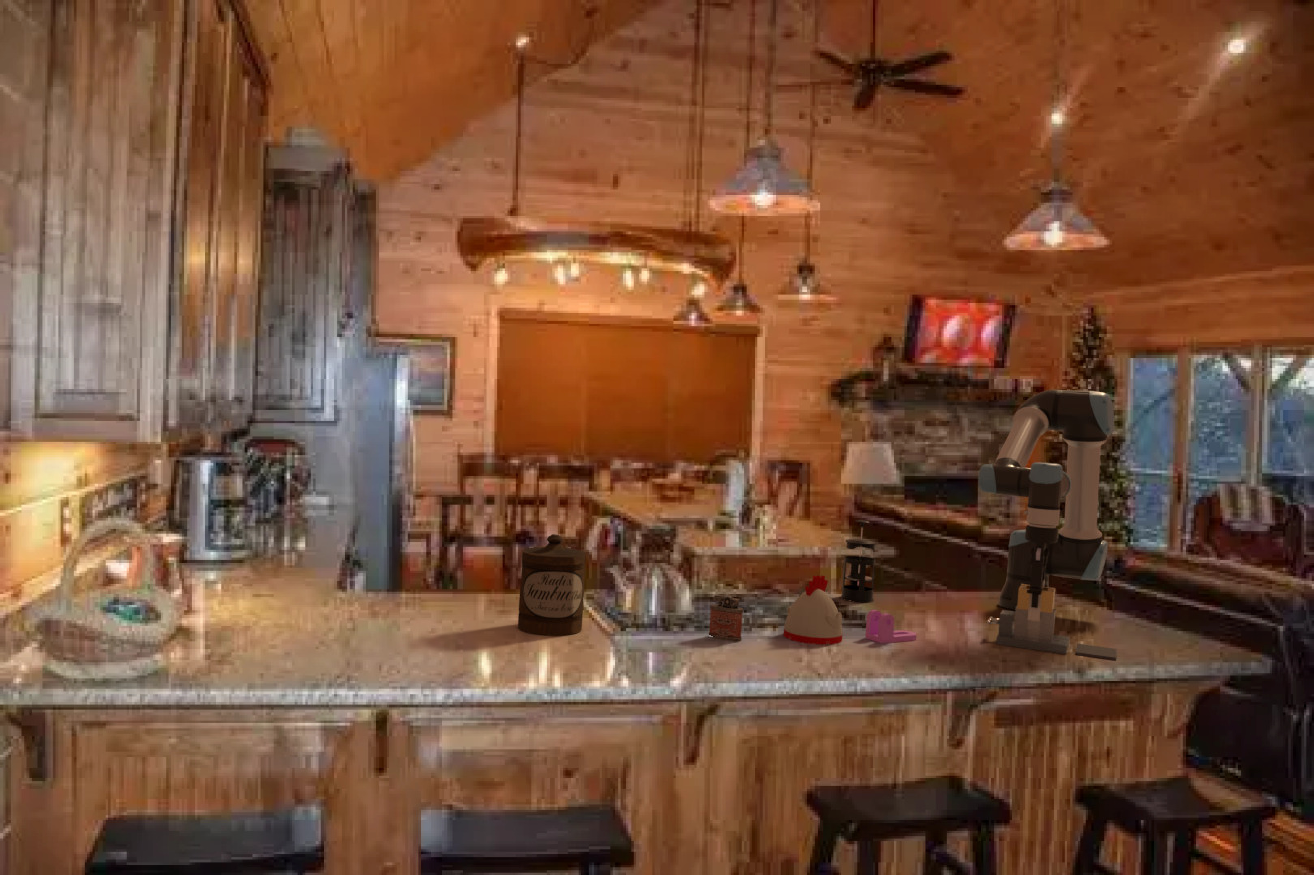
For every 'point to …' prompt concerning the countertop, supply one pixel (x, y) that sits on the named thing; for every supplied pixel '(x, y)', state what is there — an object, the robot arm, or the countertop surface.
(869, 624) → the bracket
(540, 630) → the wooden container
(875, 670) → the countertop surface
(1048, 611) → the orange-brown square frame
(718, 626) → the lighter
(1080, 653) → the rubber mat
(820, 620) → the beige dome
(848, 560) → the french press
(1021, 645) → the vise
